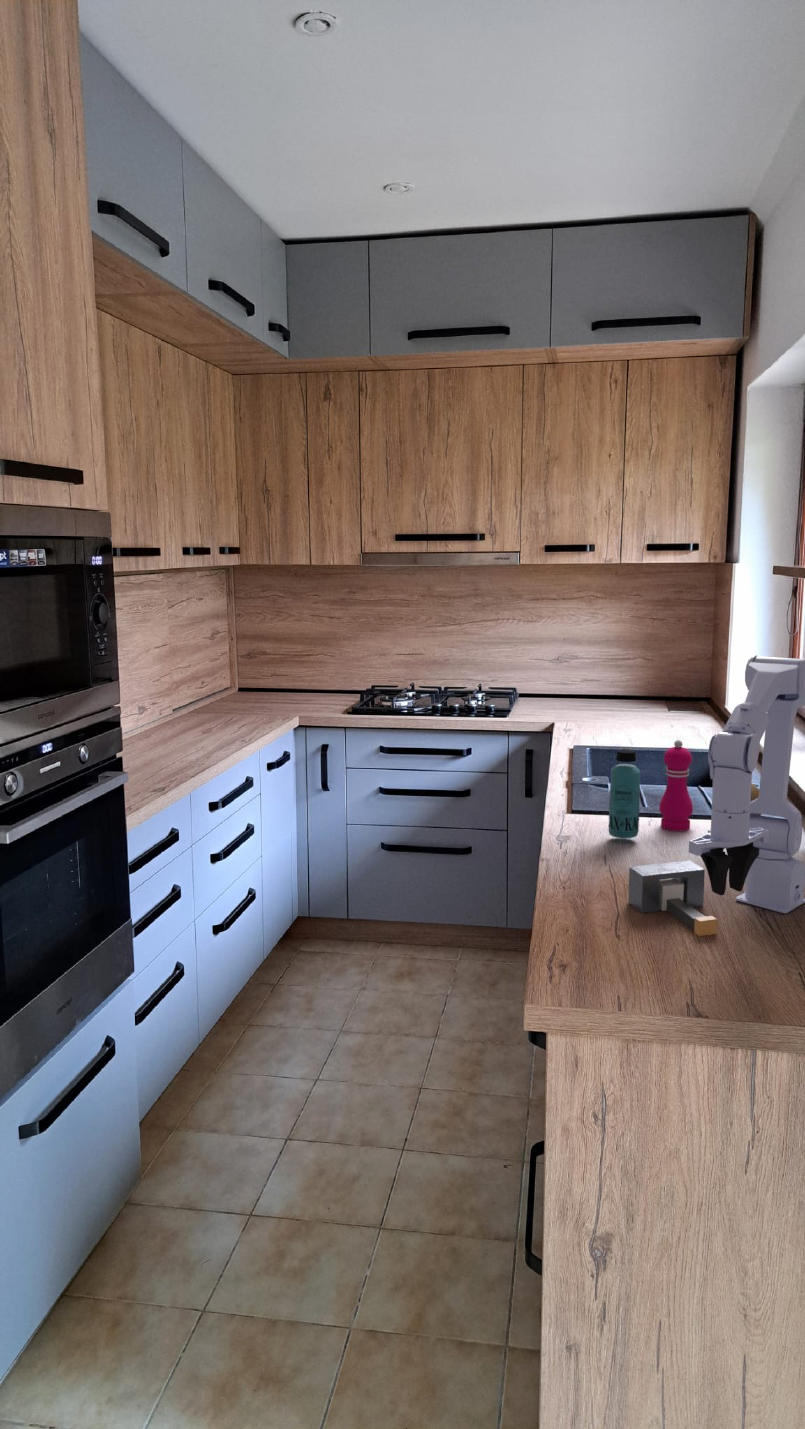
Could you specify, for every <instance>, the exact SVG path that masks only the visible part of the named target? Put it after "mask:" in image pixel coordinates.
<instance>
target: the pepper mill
mask: <svg viewBox="0 0 805 1429" xmlns="http://www.w3.org/2000/svg"><path fill="white" fill-rule="evenodd" d="M683 744H684V743H683V742H682V740H678V739H676V740H675V741H674V743H673V745H674V746H672V747H670V748H668V749H666V750H665V752H664V755H663V761H664V764H665V766H666V768H665V775H666V777H667V784H666V789H665V790H664V794H663V795H662V797H661V799H660V802H659V812H660V814H661V815H662V818H661V819H660V827H661V828H662V829H663V830H666V831H672V832H684V831H685V832H687V831H688V830H690V828H691V820H690V819H689V817H691V815H692V814H693V813H694V812H693V810H694V807H693V801H692V798H691V796H690V794H689V790H688V785H687V780H688V777H689V775H690V773H689V772H690V769H689V767H690V766H691V764H692V761H693V756H692V753H691V751H690V750H689V749H687V748H686V747H683Z"/></svg>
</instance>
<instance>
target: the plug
mask: <svg viewBox="0 0 805 1429" xmlns="http://www.w3.org/2000/svg"><path fill="white" fill-rule="evenodd" d="M683 893H684V884H683V883H681V882H680V881H678V880H677V879H675V878H670V879H661V880H660V881H659V910H661V911H663V912H664V911H667V912H668V913H670V914H671V915H672V916H673V917H675V918H676V919H678V920H679V921H680V922H682V923H683V924H684V925H686V926H687V927H688V928H690V929H691V930H692V931H693V932H694V934H695V935H697V936H699V937H702V936H711V935H717V932H718V931H717V930H718V918H716V917H715V916H713V915H709V916H707V915H704V914H702V913H701V912H700V911H699V910H697V909H695V907H691V906H690V905H688V904H687V903H685V902H684V901H683Z"/></svg>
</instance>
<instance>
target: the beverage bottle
mask: <svg viewBox="0 0 805 1429" xmlns="http://www.w3.org/2000/svg"><path fill="white" fill-rule="evenodd" d="M615 758H616V759H615V760H616V761H618V762H621V763H620V764H619V763H618V764H616V765H614V766H613V767H611V769H610V786H609V788H610V789H609V790H610V791H609V801H608V827H607V830H608V834H609V835H610V836H611V837H614V838H616V839H617V838H618V839H633V838H636V837H637V836H638V834H639V832H640V829H639V827H640V819H641V818H640V816H641V814H640V810H641V809H640V800H641V796H640V793H641V792H640V790H641V770H640V769H639V768H638V767H637V766H636V765H635V764H629V763H631V762H632V763H633V762H636V761H637V753H636V751H635V749H634V750H633V749H629V748H626V749H625V748H623V749H622V748H621V749H618V750H617V751H616V757H615Z"/></svg>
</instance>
